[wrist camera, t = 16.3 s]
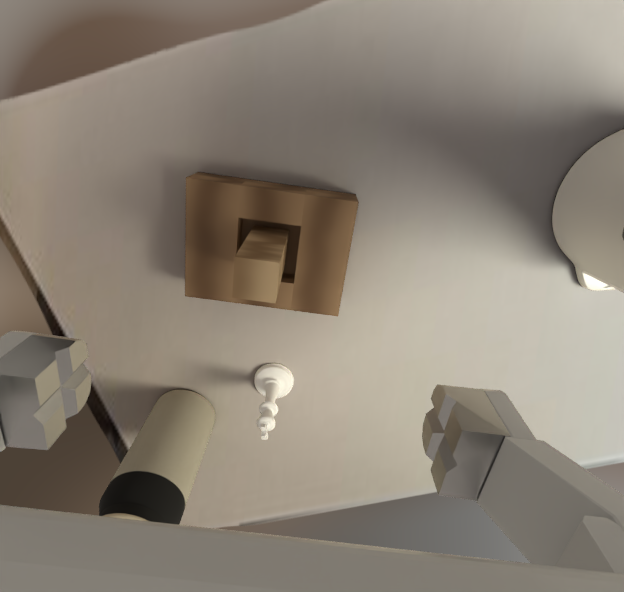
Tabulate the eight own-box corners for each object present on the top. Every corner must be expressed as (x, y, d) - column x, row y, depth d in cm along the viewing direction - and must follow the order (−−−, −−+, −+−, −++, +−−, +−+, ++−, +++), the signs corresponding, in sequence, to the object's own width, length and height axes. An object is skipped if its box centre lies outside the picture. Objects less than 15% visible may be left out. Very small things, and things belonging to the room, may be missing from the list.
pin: (289, 230, 41) (279, 262, 32) (285, 263, 43) (275, 303, 34) (254, 225, 41) (234, 256, 32) (251, 258, 43) (232, 297, 34)
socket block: (355, 194, 41) (358, 202, 38) (336, 300, 46) (337, 316, 42) (198, 171, 41) (186, 177, 37) (196, 281, 46) (185, 296, 42)
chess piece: (258, 396, 52) (244, 457, 43) (251, 364, 50) (235, 420, 41) (296, 394, 52) (290, 454, 43) (290, 361, 50) (283, 417, 41)
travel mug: (144, 397, 52) (63, 527, 36) (198, 380, 51) (140, 506, 35) (174, 441, 55) (112, 580, 39) (226, 426, 54) (184, 562, 38)
